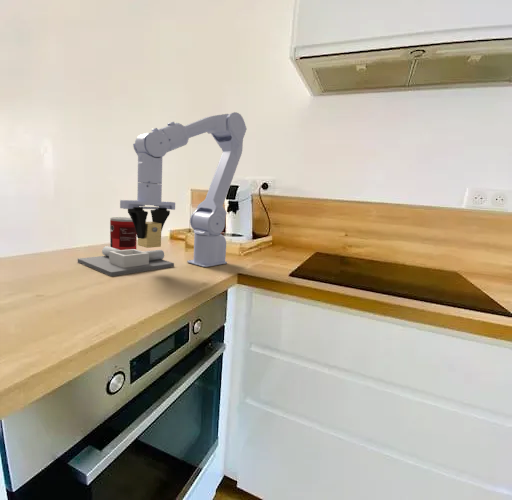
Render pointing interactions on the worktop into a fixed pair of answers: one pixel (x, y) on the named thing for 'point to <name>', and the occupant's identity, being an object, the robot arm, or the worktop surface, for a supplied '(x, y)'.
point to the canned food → (122, 233)
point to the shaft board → (126, 261)
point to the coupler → (151, 235)
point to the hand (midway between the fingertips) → (148, 237)
